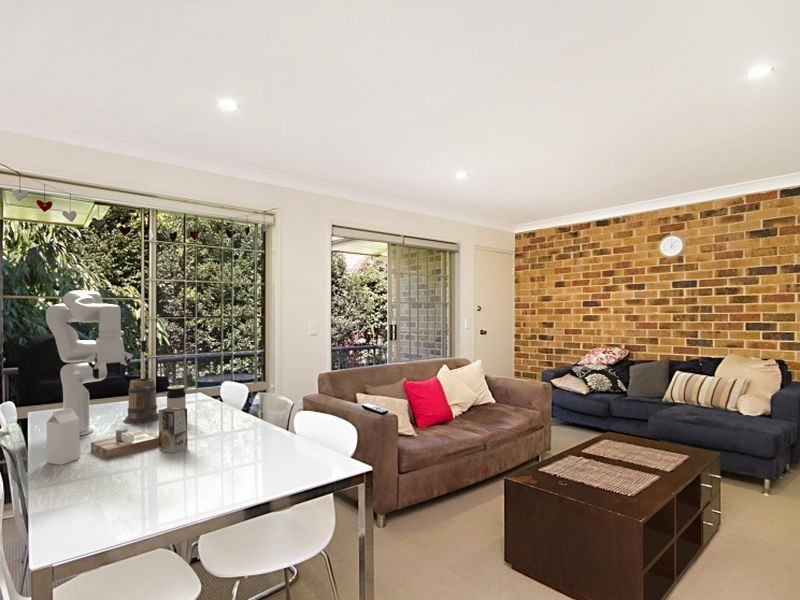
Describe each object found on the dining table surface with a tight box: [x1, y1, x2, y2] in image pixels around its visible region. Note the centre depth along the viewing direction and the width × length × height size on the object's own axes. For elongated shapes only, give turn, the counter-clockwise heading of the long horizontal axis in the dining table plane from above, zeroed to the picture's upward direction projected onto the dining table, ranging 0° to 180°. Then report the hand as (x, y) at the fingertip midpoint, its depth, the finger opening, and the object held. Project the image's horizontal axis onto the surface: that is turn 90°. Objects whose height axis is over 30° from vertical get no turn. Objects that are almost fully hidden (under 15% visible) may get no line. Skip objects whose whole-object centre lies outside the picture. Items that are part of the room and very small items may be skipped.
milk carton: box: [46, 408, 81, 466], centre depth 169 cm, size 7×7×19 cm
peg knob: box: [115, 428, 134, 443], centre depth 180 cm, size 10×4×4 cm, turn 53°
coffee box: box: [157, 407, 189, 454], centre depth 181 cm, size 9×6×16 cm
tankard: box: [122, 377, 159, 425], centre depth 227 cm, size 24×17×20 cm
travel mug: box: [166, 384, 187, 408], centre depth 220 cm, size 8×8×18 cm
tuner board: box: [90, 430, 159, 460], centre depth 184 cm, size 16×20×4 cm
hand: (109, 376), depth 188 cm, fingers open, 9 cm apart
